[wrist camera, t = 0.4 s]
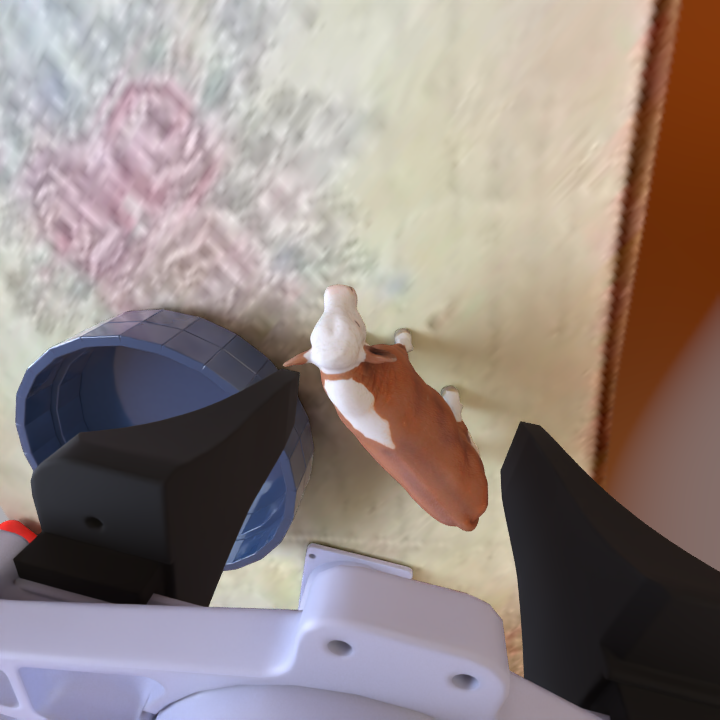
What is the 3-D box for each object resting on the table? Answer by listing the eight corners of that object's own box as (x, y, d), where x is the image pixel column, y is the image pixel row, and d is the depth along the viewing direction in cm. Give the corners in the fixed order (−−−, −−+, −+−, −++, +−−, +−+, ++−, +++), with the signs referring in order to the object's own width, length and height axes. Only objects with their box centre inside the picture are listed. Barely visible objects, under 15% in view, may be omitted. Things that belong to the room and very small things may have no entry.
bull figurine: (375, 241, 21) (342, 289, 14) (493, 438, 25) (514, 553, 18) (306, 283, 23) (246, 346, 16) (428, 463, 27) (423, 578, 20)
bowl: (303, 543, 32) (284, 598, 28) (92, 490, 34) (46, 536, 30) (330, 339, 24) (309, 377, 20) (52, 280, 26) (-19, 304, 22)
